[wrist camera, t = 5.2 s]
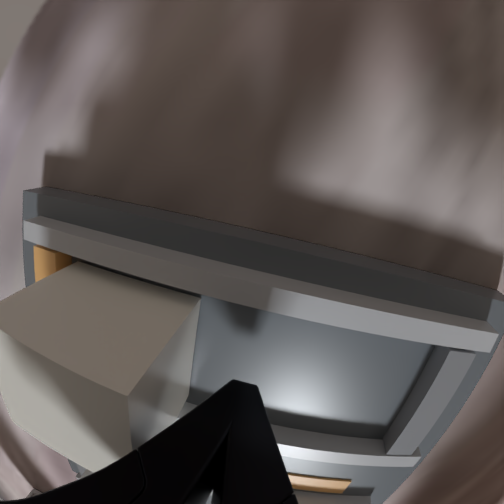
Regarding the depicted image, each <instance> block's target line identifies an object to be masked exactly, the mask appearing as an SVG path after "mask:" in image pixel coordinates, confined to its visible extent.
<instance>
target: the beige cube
mask: <svg viewBox="0 0 504 504" xmlns="http://www.w3.org/2000/svg"><path fill="white" fill-rule="evenodd" d="M200 303H201V298H199V297H195V296H192V295H188V294H185V293H181V292H177V291H174V290H170V289H167V288H163V287H160V286H156V285H153V284H149V283H146V282H143V281H139V280H136V279H133V278H129V277H126V276H123V275H120V274H116V273H113V272H110V271H107V270H104V269H101V268H97V267H94V266H91V265H88V264H85V263H82V262H79V261H77V262H75V263H73V264H71V265H69V266H67V267H65V268H63V269H61V270H59V271H57V272H55V273H53V274H51V275H49V276H47V277H45V278H43V279H41V280H39V281H37V282H35V283H33V284H32V285H30V286H28V287H26V288H24V289H22V290H20V291H18V292H16V293H14V294H13V295H11V296H9V297H7V298H5V299H3V300H2V301H0V392H1V395H2V398H3V400H4V403H5V405H6V408H7V410H8V413H9V415H10V417H11V420H12V422H13V423H14V424H16V425H17V426H19V427H20V428H21V429H23V430H24V431H25V432H27V433H28V434H30V435H31V436H33V437H34V438H36V439H37V440H39V441H40V442H42V443H43V444H45V445H46V446H48V447H49V448H51V449H53V450H54V451H56V452H58V453H59V454H61V455H63V456H64V457H66V458H68V459H69V460H71V461H73V462H75V463H77V464H78V465H80V466H82V467H84V468H86V469H88V470H90V471H92V472H93V473H94V472H96V471H99V470H101V469H103V468H105V467H106V466H108V465H110V464H112V463H113V462H115V461H117V460H119V459H120V458H122V457H124V456H125V455H127V454H128V453H130V452H131V451H133V450H135V449H136V450H137V448H138V447H139V446H141V445H142V444H144V443H145V442H147V441H148V440H150V439H151V438H153V437H154V436H155V435H157V434H158V433H160V432H161V431H163V430H164V429H166V428H167V427H168V426H170V425H171V424H173V423H174V422H175V421H176V419H177V417H178V415H179V413H180V411H181V409H182V407H183V405H184V403H185V401H186V399H187V397H188V395H189V388H190V379H191V371H192V362H193V354H194V347H195V339H196V331H197V324H198V317H199V310H200Z"/></svg>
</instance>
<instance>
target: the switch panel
mask: <svg viewBox="0 0 504 504" xmlns="http://www.w3.org/2000/svg"><path fill="white" fill-rule="evenodd" d="M23 258H24V273H25V285H26V287H28V286H30V285H32V284H33V283H35V282H37V281H39V280H41V279H43V278H45V277H47V276H49V275H51V274H53V273H55V272H57V271H59V270H61V269H63V268H65V267H67V266H69V265H71V264H73V263H75V262H77V261H79V262H82V263H85V264H88V265H91V266H94V267H97V268H101V269H104V270H107V271H110V272H113V273H116V274H120V275H123V276H126V277H129V278H133V279H136V280H139V281H143V282H146V283H149V284H153V285H156V286H160V287H163V288H167V289H170V290H174V291H177V292H181V293H185V294H188V295H192V296H195V297H199V298H201V303H200V310H199V317H198V324H197V331H196V339H195V347H194V354H193V362H192V371H191V379H190V388H189V395H188V397H187V399H186V401H185V403H184V405H183V407H182V409H181V411H180V413H179V415H178V417H177V419H176V421H177V420H178V419H180V418H181V417H183V416H184V415H185V414H187V413H188V412H189V411H191V410H192V409H194V408H195V407H196V406H198V405H199V404H200V403H202V402H203V401H204V400H206V399H207V398H208V397H210V396H211V395H212V394H214V393H215V392H216V391H217V390H219V389H220V388H221V387H223V386H224V385H225V384H227V383H228V382H229V381H230V380H232V379H236V380H239V381H243V382H247V383H251V384H255V385H257V386H258V388H259V391H260V394H261V397H262V400H263V403H264V406H265V409H266V412H267V415H268V418H269V421H270V424H271V427H272V430H273V433H274V436H275V439H276V442H277V445H278V447H279V450H280V453H281V456H282V459H283V462H284V465H285V468H286V470H287V473H288V476H289V479H290V482H291V484H292V487H293V490H294V493H293V494H295V495H296V498H297V500H298V503H299V504H382V503H383V502H384V501H385V500H386V499H387V498H388V497H389V496H390V495H391V494H392V493H393V492H394V491H395V490H396V489H397V488H398V487H399V486H400V485H401V484H402V483H403V482H404V481H405V480H406V479H407V478H408V477H409V475H410V474H411V473H412V472H413V471H414V470H415V469H416V467H417V466H418V465H419V464H420V463H421V462H422V460H423V459H424V458H425V457H426V456H427V454H428V453H429V452H430V451H431V449H432V448H433V447H434V446H435V444H436V443H437V442H438V441H439V439H440V438H441V437H442V435H443V434H444V433H445V431H446V430H447V428H448V427H449V426H450V424H451V423H452V422H453V420H454V419H455V417H456V416H457V414H458V413H459V411H460V410H461V408H462V407H463V405H464V404H465V402H466V401H467V399H468V398H469V396H470V394H471V393H472V391H473V390H474V388H475V386H476V385H477V383H478V381H479V379H480V378H481V376H482V374H483V372H484V371H485V369H486V367H487V365H488V363H489V362H490V360H491V358H492V356H493V354H494V352H495V350H496V348H497V346H498V344H499V342H500V340H501V338H502V336H503V334H504V295H503V294H502V293H500V292H499V291H497V290H493V289H490V288H486V287H483V286H479V285H475V284H471V283H468V282H464V281H460V280H457V279H453V278H449V277H445V276H441V275H438V274H434V273H430V272H426V271H422V270H418V269H414V268H411V267H407V266H403V265H399V264H395V263H391V262H387V261H383V260H379V259H375V258H371V257H367V256H363V255H359V254H355V253H351V252H346V251H342V250H338V249H334V248H330V247H326V246H322V245H317V244H313V243H309V242H305V241H300V240H296V239H292V238H288V237H283V236H279V235H275V234H270V233H266V232H261V231H257V230H253V229H248V228H244V227H239V226H235V225H230V224H226V223H221V222H217V221H212V220H208V219H203V218H199V217H194V216H189V215H185V214H180V213H175V212H171V211H166V210H161V209H156V208H152V207H147V206H142V205H137V204H132V203H127V202H122V201H117V200H112V199H107V198H102V197H97V196H92V195H87V194H82V193H77V192H72V191H66V190H61V189H56V188H51V187H41V188H35V189H29V190H23ZM176 421H175V422H176ZM67 459H68V458H67ZM68 461H69V463H70V466H71V468H72V470H73V471H74V472H76V473H78V474H77V475H76V478H77V480H78V479H79V478H80V477H81V476H82V474H83V473H84V471H85V470H86V468H84V467H82V466H80V465H78V464H77V463H75V462H73V461H71V460H69V459H68ZM212 492H213V490H212ZM212 492H211V494H210V496H209V498H208V500H207V502H206V504H211V498H212Z"/></svg>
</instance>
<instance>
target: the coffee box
mask: <svg viewBox="0 0 504 504" xmlns="http://www.w3.org/2000/svg"><path fill="white" fill-rule="evenodd" d="M38 494H41V492H40V491H38V490H36V489H33V490H32V491H31V492H30V493H29V495H28V496H27V497H26V498H28V497H32V496H35V495H38Z"/></svg>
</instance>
